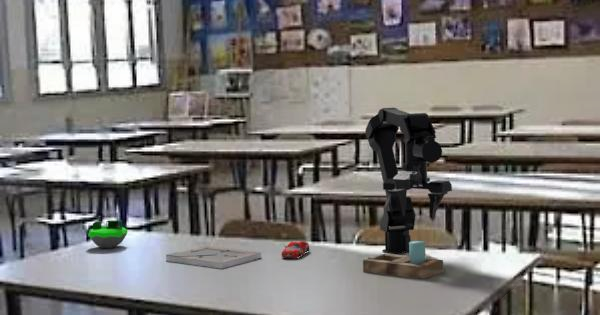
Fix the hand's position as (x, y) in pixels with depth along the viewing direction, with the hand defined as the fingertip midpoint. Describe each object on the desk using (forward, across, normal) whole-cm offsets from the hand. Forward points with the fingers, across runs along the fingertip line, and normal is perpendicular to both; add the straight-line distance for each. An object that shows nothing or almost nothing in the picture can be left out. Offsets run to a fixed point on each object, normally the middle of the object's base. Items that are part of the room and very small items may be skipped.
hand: (417, 216), depth 258 cm
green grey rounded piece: (+12, -94, -30) cm, 99 cm away
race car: (+12, -34, -11) cm, 38 cm away
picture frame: (+13, -51, -27) cm, 59 cm away
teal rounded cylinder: (+12, +8, -14) cm, 20 cm away
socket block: (+12, +4, -14) cm, 19 cm away
